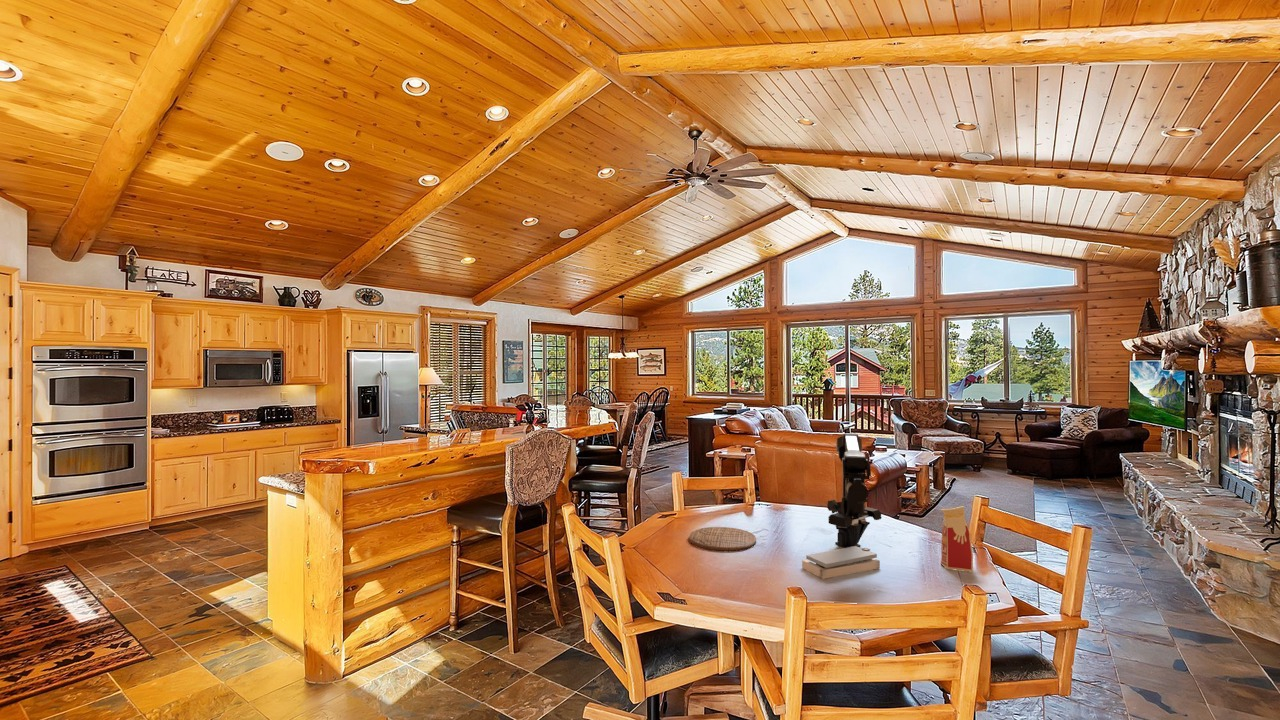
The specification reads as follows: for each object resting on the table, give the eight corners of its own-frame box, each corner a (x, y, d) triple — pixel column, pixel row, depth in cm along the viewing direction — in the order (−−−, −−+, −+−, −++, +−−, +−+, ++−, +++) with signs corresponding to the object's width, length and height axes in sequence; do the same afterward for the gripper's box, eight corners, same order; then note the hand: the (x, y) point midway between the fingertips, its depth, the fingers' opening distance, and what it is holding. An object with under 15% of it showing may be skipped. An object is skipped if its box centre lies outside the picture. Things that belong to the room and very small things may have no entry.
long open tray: (857, 558, 196) (857, 549, 196) (879, 568, 187) (879, 558, 187) (802, 567, 188) (802, 558, 188) (822, 578, 178) (822, 568, 178)
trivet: (755, 554, 202) (755, 549, 202) (684, 549, 207) (684, 544, 207) (756, 533, 226) (756, 528, 226) (693, 529, 231) (693, 525, 231)
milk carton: (968, 563, 192) (968, 503, 192) (974, 572, 183) (974, 510, 183) (937, 560, 195) (937, 501, 195) (942, 569, 186) (942, 507, 186)
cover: (858, 548, 196) (858, 544, 196) (879, 557, 188) (879, 552, 188) (806, 558, 186) (806, 554, 186) (826, 567, 178) (826, 563, 178)
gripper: (852, 486, 193) (853, 533, 193) (814, 493, 183) (814, 542, 183) (882, 493, 184) (882, 541, 184) (843, 500, 174) (843, 552, 174)
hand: (855, 544), depth 181 cm, fingers closed
